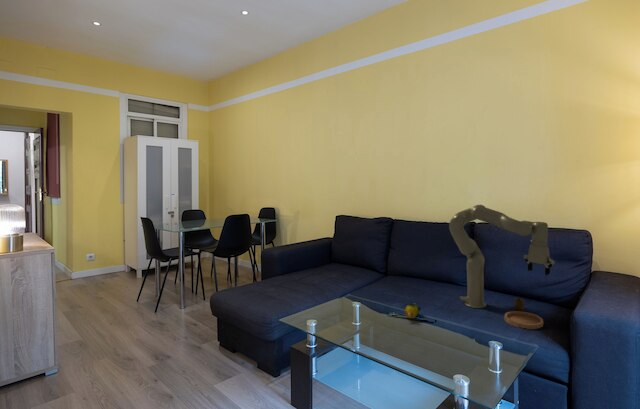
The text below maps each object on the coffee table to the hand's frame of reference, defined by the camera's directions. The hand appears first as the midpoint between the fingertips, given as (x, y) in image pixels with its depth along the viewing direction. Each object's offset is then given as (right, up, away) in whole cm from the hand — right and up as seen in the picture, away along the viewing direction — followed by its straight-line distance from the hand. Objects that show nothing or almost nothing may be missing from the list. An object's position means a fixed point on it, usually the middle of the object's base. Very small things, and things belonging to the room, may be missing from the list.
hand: (538, 272), depth 199 cm
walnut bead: (-7, -25, +7) cm, 26 cm away
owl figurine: (-72, -28, +4) cm, 78 cm away
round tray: (-14, -26, -8) cm, 30 cm away
